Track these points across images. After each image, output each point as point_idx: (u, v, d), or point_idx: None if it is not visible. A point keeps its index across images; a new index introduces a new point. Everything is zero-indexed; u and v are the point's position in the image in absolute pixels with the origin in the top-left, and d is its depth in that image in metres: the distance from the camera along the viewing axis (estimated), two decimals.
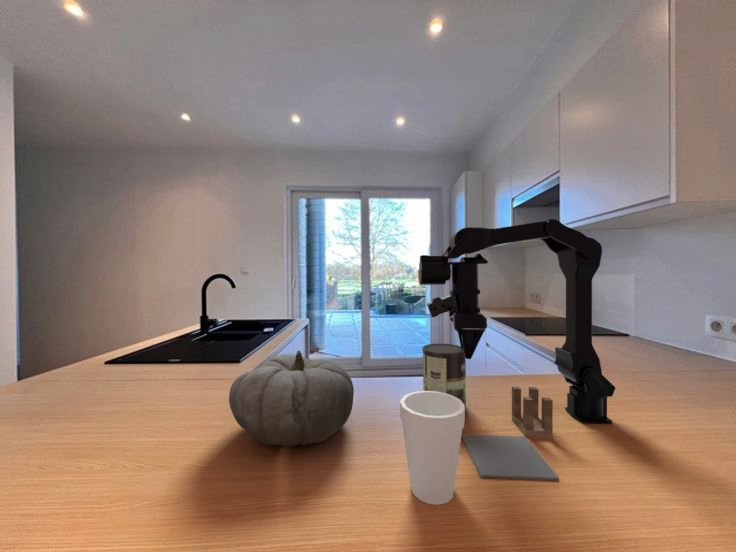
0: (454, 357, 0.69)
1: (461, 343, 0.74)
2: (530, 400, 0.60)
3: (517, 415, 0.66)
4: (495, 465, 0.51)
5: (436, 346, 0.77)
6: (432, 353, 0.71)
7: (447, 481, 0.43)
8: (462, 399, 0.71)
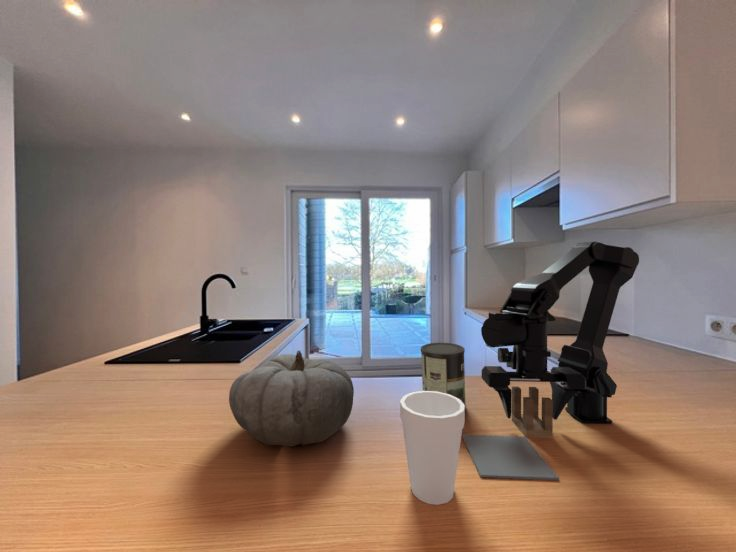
0: (453, 357, 0.69)
1: None
2: (530, 400, 0.60)
3: (517, 415, 0.66)
4: (495, 465, 0.51)
5: (434, 346, 0.76)
6: (431, 354, 0.70)
7: (447, 481, 0.43)
8: (463, 398, 0.71)
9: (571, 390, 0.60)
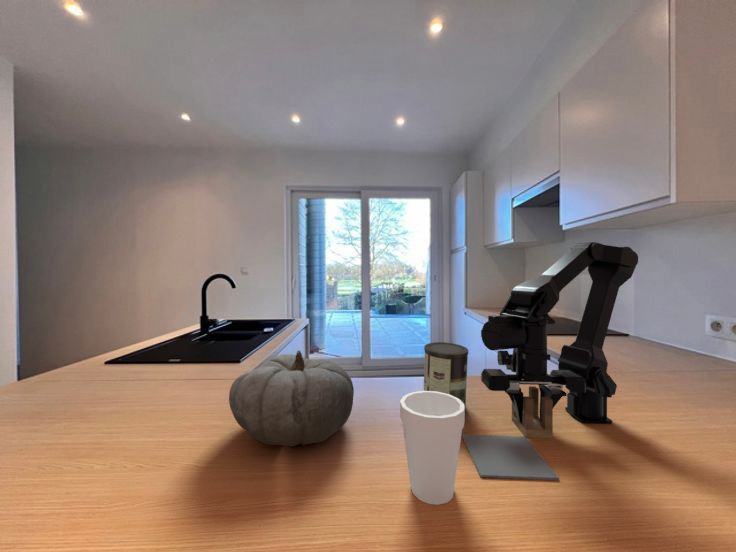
0: (458, 358, 0.69)
1: (540, 414, 0.64)
2: (530, 399, 0.60)
3: None
4: (495, 465, 0.51)
5: (437, 345, 0.76)
6: (436, 354, 0.69)
7: (447, 481, 0.43)
8: (464, 398, 0.71)
9: (558, 393, 0.60)
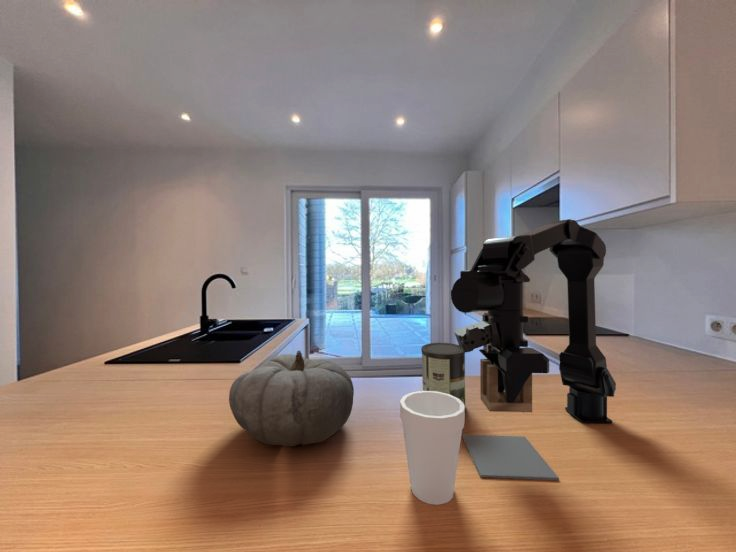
0: (456, 357, 0.69)
1: (498, 385, 0.56)
2: None
3: None
4: (495, 465, 0.51)
5: (434, 346, 0.76)
6: (435, 354, 0.69)
7: (447, 481, 0.43)
8: (464, 397, 0.71)
9: None
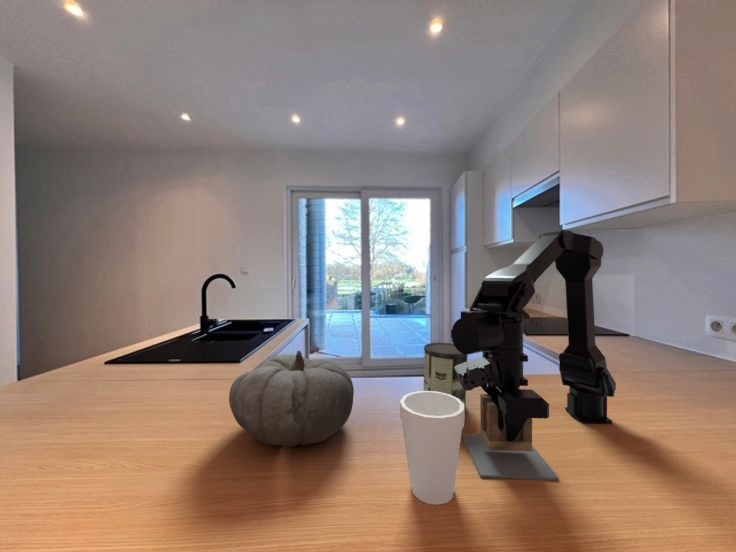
0: (460, 357, 0.69)
1: (498, 421, 0.56)
2: None
3: None
4: (495, 465, 0.51)
5: (436, 346, 0.76)
6: (438, 354, 0.69)
7: (447, 481, 0.43)
8: (464, 397, 0.71)
9: None
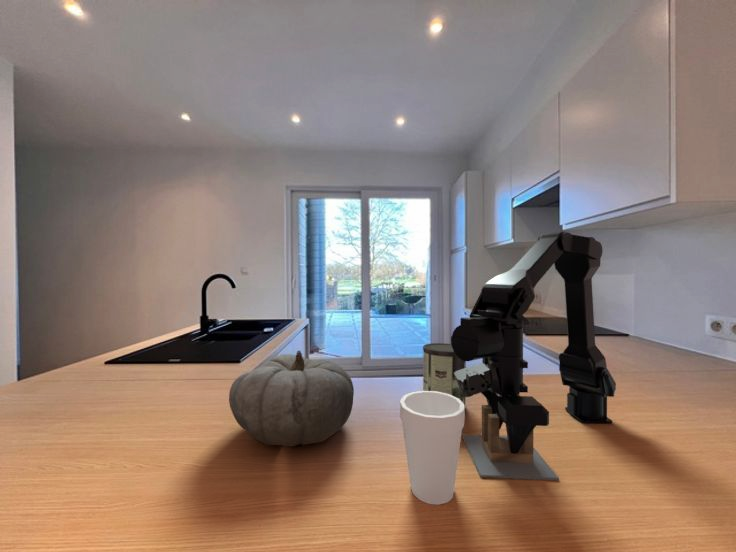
0: None
1: None
2: None
3: None
4: (495, 465, 0.51)
5: (435, 345, 0.77)
6: (438, 352, 0.70)
7: (447, 481, 0.43)
8: None
9: None
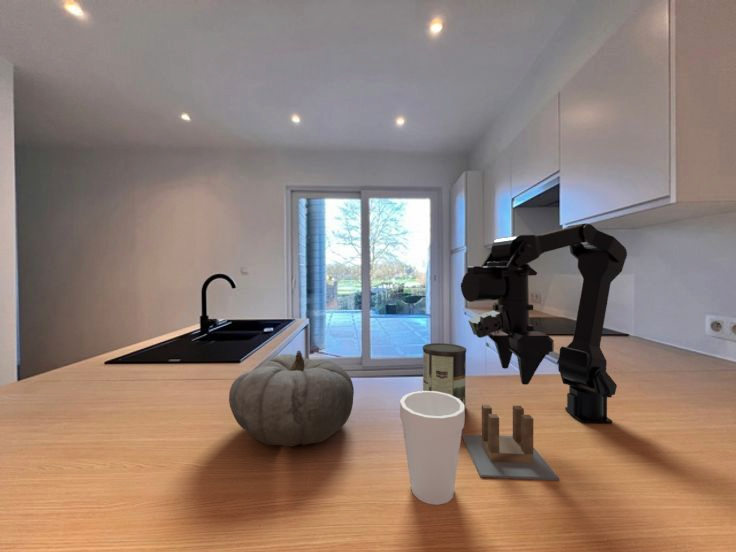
0: (459, 355, 0.70)
1: (503, 363, 0.66)
2: (530, 417, 0.52)
3: None
4: (495, 465, 0.51)
5: (434, 346, 0.76)
6: (439, 352, 0.70)
7: (447, 481, 0.43)
8: None
9: None
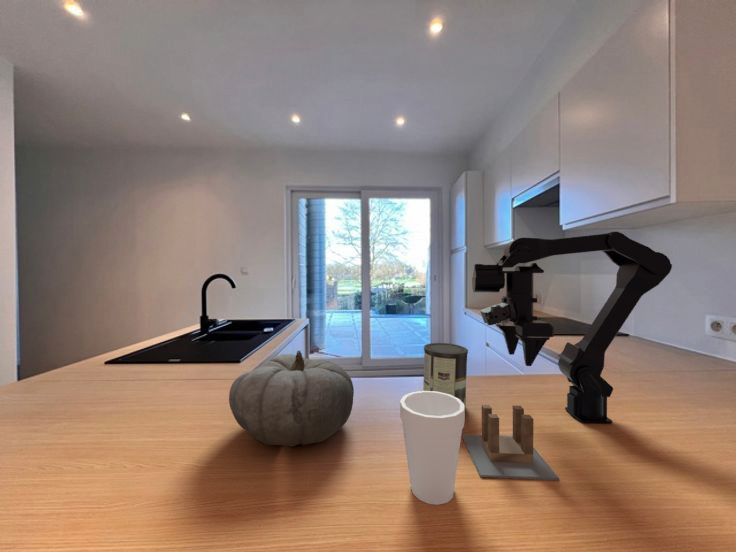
0: (462, 357, 0.70)
1: (509, 350, 0.76)
2: (530, 417, 0.52)
3: None
4: (495, 465, 0.51)
5: (435, 346, 0.76)
6: (441, 354, 0.69)
7: (447, 481, 0.43)
8: (465, 396, 0.72)
9: None
